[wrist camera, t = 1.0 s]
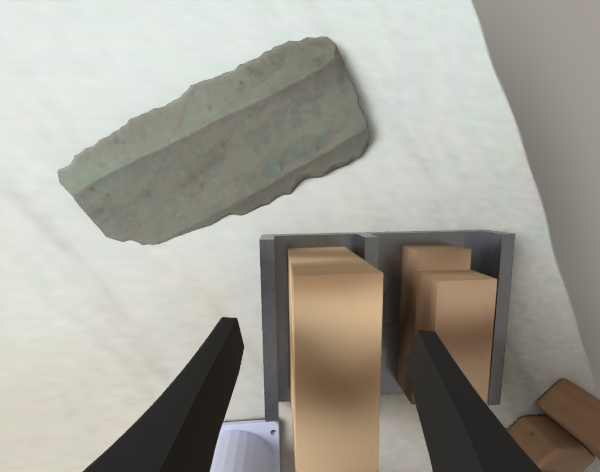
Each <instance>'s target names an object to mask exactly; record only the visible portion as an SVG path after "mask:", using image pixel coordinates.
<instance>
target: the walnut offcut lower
mask: <svg viewBox="0 0 600 472" xmlns="http://www.w3.org/2000/svg"><path fill="white" fill-rule="evenodd" d="M470 264H471V249H468V248H464V247H460V246H456V245H452V244H431V245H403V247H402V275H401V302H400V330H399V357H398V384H399V386H400V387H401V389H402V390H403V392H404V393H405V395H406V396H407V398H408V399H409V401H410V402H411V404H416V403H415V399H414V395H413V391H412V387H411V382H410V376H409V369H408V362H407V358H408V356H409V353H410V350H411V348H412V345H413V342H414V340H415V318H416V296H417V273H418V271H441V270H470Z"/></svg>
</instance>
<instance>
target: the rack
mask: <svg viewBox="0 0 600 472" xmlns="http://www.w3.org/2000/svg"><path fill="white" fill-rule="evenodd" d="M514 240H515V234H513V233H506V232H498V231H491V230H459V231H413V232H366V233H320V234H274V235H262V236H261V238H260V267H261V299H262V331H263V363H264V395H265V422H271V421H279V417H278V402H284V401H291V395H290V351H289V296H288V248H315V247H346V248H347V249H349V250H350V251H352V252H353V253H355V254H356V255H357V256H359V257H360V258H362V259H363V260H365V261H366V262H368V263H369V264H371V265H372V266H374V267H375V268H377V269H378V270H380V271H381V272H383V305H382V341H381V377H380V395H383V394H398V393H404V392H403V390H402V389H401V387H400V386H399V384H398V357H399V330H400V302H401V275H402V247H403V245H431V244H452V245H456V246H460V247H464V248H468V249H471V264H470V270H473V271H476V272H479V273H481V274H484V275H487V276H490V277H493V278H495V279H497V290H496V302H495V314H494V326H493V338H492V350H491V362H490V375H489V387H488V399H487V404H488V405H496V404H500V397H501V386H502V375H503V364H504V352H505V341H506V330H507V319H508V307H509V296H510V285H511V274H512V262H513V251H514Z"/></svg>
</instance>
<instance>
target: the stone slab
mask: <svg viewBox="0 0 600 472" xmlns="http://www.w3.org/2000/svg"><path fill="white" fill-rule="evenodd" d="M368 144H369V131H368V125H367V121H366V119H365V117H364V115H363V112H362V110H361V108H360V106H359V99H358V96H357V93H356V91H355V89H354V86H353V84H352V81H351V79H350V77H349V74H348V72H347V70H346V68H345V65H344V62H343V60H342V58H341V56H340V54H339V52H338V49H337V47H336V45H335V43H334V42H333V41H332V40H331V39H329V38H328V37H318V38H309V37H306V38H304V39H303V40H301V41H288V42H287V43H285V44H283V45H279V46H276V47H274V48H273V49H272V50H270V51H266V52H265V53H263V54H262V55H261V56H260V57H259V58H257V59H254V60H251V61H249V62H247V63H245V64H240V65H239V66H238V67H237V68H236V69H235V70H234V71H231V72H226V73H223V74H222V75H220V76H217V77H215V78H213V79H209V80H205V81H201V82H199V83H197V84H194V85H191V86H190V87H189V89H188V90H187V91H186V92H185V93H183V94H182V96H181V97H180V98H179V99H177V100H174V101H172V102H171V103H169V104H167V105H166V106H164V107H161V108H155V109H152V110H151V111H149V112H147V113H144V114H141V115H139V116H137V117H135V118H132V119H130V120H129V121H128V123H127V124H126V125H125V126H123V127H121V128H120V129H119V130H117V131H115V132H113V133H112V134H111V135H110V136H108V137H106V138H103V139H101V140H99V141H98V142H97V143H96V144H95V145H94V146H93V147H89V148H86V149H85V150H83V151H82V152H81V153H80V154H78V155H75V156H74V159H73V161H72V163H71V164H70V165H69V166H67V167H65V168H62V169H59V170H58V177H59V182H60V184H61V185H62V186H63V187H64V188H65V189H66V190H67V191H68V192H69V193H70V194H71V195H72V196H73V198H74V199H75V201H76V202H77V203H78V205H79V206H80V207H81V208H82V209H83V210H84V212H85V213H86V214H87V215H88V216H89V217H90V218H91V220H92V221H93V222H94V223H95V224H96V225H97V226H98V227H99V228H100V230H101V231H102V232H103V233H104V235H105V236H106V237H109V238H111V239H114V240H118V241H122V242H125V241H128V240H132V241H136V242H138V243H140V244H141V245H146V244H151V245H155V244H160V243H163V242H166V241H168V240H170V239H172V238H175V237H177V236H180V235H183V234H186V233H189V232H191V231H194V230H197V229H200V228H203V227H207V226H210V225H212V224H214V223H216V222H218V221H219V220H220V219H222V218H223V217H225V216H227V215H230V214H235V215H241V216H242V215H245V214H248V213H249V212H251V211H253V210H255V209H256V208H258V207H261V206H264V205H267V204H270V203H271V202H273V201H274V200H275V199H276V198H278V197H280V196H282V195H286V194H291V193H292V191H293V190H294V189H295V188H296V186H297V185H298V183H299V182H300V181H301V180H303V179H306V178H310V177H321V176H323V175H324V174H326V173H328V172H330V171H332V170H334V169H336V168H338V167H341V166H344V165H346V164H348V163H349V162H350V161H351V160H353V159H355V158H358V157H360V156H361V155H362V154H363V152H364V151H365V149H366V148H367V146H368Z"/></svg>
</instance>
